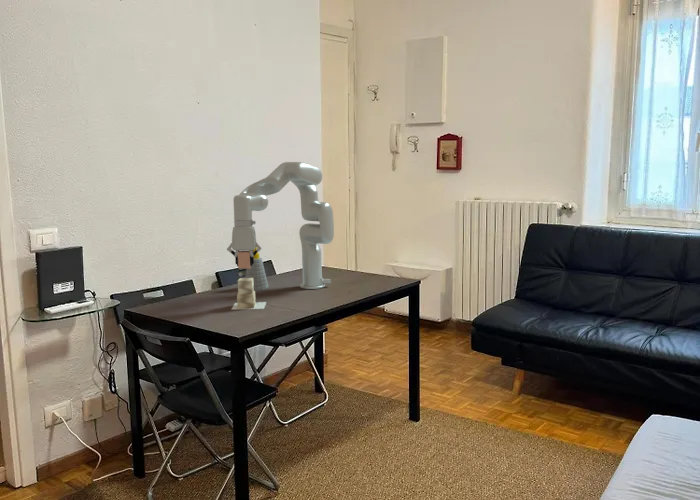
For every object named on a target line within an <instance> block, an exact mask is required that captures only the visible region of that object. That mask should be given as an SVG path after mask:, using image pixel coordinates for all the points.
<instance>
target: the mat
mask: <svg viewBox="0 0 700 500" xmlns="http://www.w3.org/2000/svg"><path fill="white" fill-rule="evenodd" d="M266 305H267V301H259V302H257V301H256V304H255V307H254V308H238V306H237V302H234V304H233V306H232V307H231V310H232V311H233V310H264V309H265V307H266Z"/></svg>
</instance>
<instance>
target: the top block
mask: <svg viewBox="0 0 700 500" xmlns="http://www.w3.org/2000/svg"><path fill="white" fill-rule="evenodd" d="M237 267H238V268H237V269H239V270H242V269H246V270H247V269H250V268H251V266H250V252H249V250H239V252H238V266H237Z"/></svg>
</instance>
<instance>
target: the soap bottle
mask: <svg viewBox="0 0 700 500" xmlns="http://www.w3.org/2000/svg"><path fill="white" fill-rule="evenodd" d="M256 249H257V247H256V248H255V249H254V250H253V252H254V251H255V250H256ZM265 270H266V269H265V267H264V262H263V258H262V257H260V252H257V253H256V254H255V255H254V264H252V266H251V268H250V269H246V271H245V275H244V276H245V277H244V278H253V282H254V291H255V292H256V291H257V292H259V291H263V290H264V291H265V290H267V289H269V282H268V279H267V274H266V271H265Z"/></svg>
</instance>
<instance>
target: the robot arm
mask: <svg viewBox="0 0 700 500" xmlns="http://www.w3.org/2000/svg"><path fill="white" fill-rule="evenodd" d="M322 181H323V173H322V171H321V169H320V168H319V167H317V166H314V165H311V164H308V163H305V162H303V161H302V162H301V161H284V162H281V163H280V164H279V165H278V166H277V167H276V168H275V169H274V170H272V172H271V173H269V174H268V175H267V176H266V177H264V178H262V179H260V180H258V181H256V182H253V183H251V184H249V185H248V186H247V187H245V188H244V189H243V190H242V191H241V192H240V193H239V194H237V195H234V196H233V218H234V219H233V221H234V226H233V227H232V233H231V243H230V244H229V245H228V247H227V248H226V250H227V251H228V252H229V253H230V254H231V255H233V256H234V259H235V261H234V262H235V265H236V267H238V252H239V251H249V252H250V266H252V264H254V255H255V254H256V253H257V252H258V253H260V251H261V250H262V246H261V245H259V243H258V242H257V237H256V230H255V226H253V225H256V220H253V215H252V214H253V213H252V212H262V211H264V210H266V209H267V207H268V205H269V198H268V197H267V196H270V195H275V194H277V193H279V192H280V191H282V189H283V188H284V187H286V185H288V183H289V182H291V183H292V184H294V186H295V187H296V188H297V189H298V190H299V196H300V208H301V209H300V210H301V212H300V213H301V217H302V219H303V220H304V221H308V223H304V224H302V225H301V227H300V229H299V232H298V233H299V239H300V244H301V260H302V261H301V263H302V267H301V268H302V282H301V283H300V284H299V288H301V289H306V290H318V289H323V288H325V286H326V284H332V279H331V278H330V279H329V278H324V277H323V274H322V273H323V272H322V271H323V270H322V264H323V263H322V249H321V246H320V245H319V244H321V245H328V244H331V243H332V241H333V240H334V237H335V236H334V235H335V230H334V210H333V208H332V205H331V204H330V203H329V202H325V201H319V196H318V195H319V193H318V192H319V191H318V189H317V187H316V186H317V185H319V184H320V183H321V182H322ZM309 222H318V223H309ZM256 247H257V249H256V250H255V251H254V252H253V250H254V249H255V248H256Z"/></svg>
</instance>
